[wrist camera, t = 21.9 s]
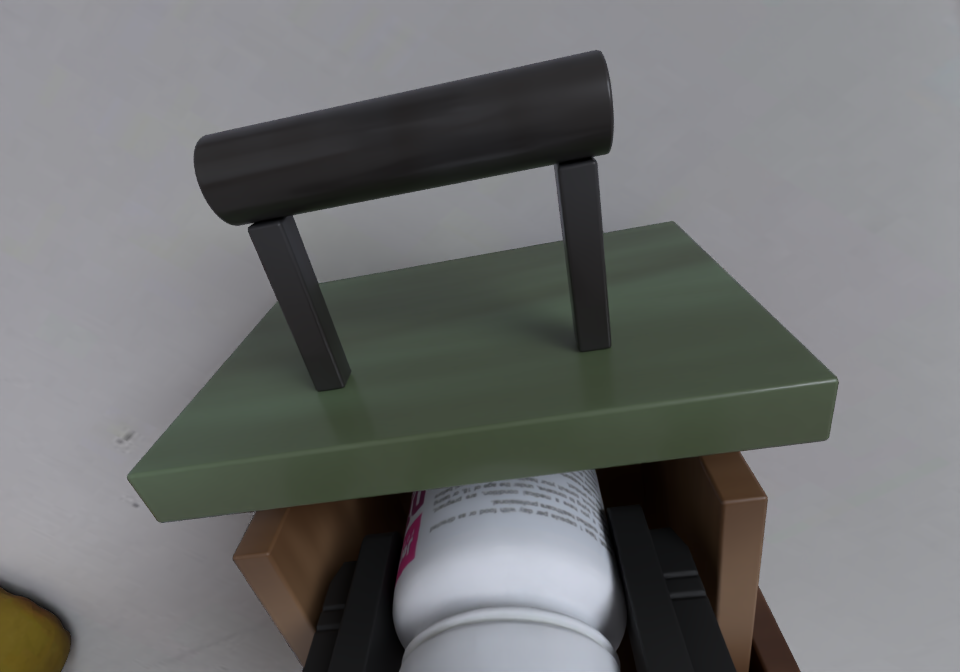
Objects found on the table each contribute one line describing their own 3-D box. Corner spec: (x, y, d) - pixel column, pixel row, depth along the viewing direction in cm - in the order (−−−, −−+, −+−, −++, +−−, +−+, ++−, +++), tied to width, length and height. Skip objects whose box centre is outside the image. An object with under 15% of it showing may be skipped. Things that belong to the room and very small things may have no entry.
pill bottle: (403, 377, 15) (314, 706, 7) (566, 341, 14) (645, 665, 7) (452, 492, 17) (420, 830, 10) (594, 466, 16) (677, 810, 9)
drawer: (219, 123, 13) (-76, 202, 6) (672, 23, 12) (913, -12, 5) (404, 572, 22) (363, 809, 15) (677, 543, 20) (768, 789, 14)
